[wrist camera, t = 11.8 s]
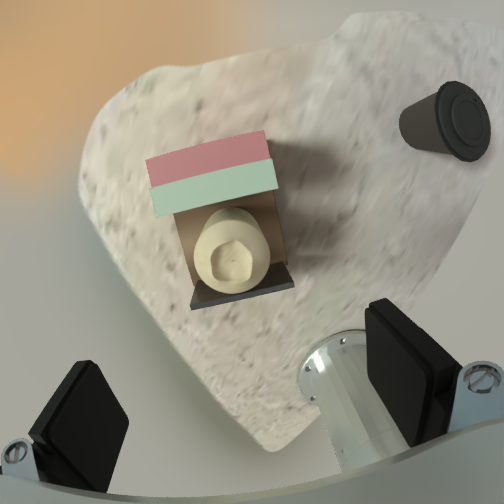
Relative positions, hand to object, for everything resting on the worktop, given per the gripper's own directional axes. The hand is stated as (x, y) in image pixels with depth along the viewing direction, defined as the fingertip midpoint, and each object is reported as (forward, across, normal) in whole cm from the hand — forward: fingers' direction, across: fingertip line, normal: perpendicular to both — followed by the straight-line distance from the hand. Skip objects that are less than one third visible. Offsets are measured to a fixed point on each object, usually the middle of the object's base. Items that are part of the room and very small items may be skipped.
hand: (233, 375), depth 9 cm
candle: (+22, 0, 0) cm, 22 cm away
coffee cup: (+23, -24, -8) cm, 34 cm away
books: (+22, 0, -7) cm, 23 cm away
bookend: (+22, 0, +4) cm, 22 cm away
